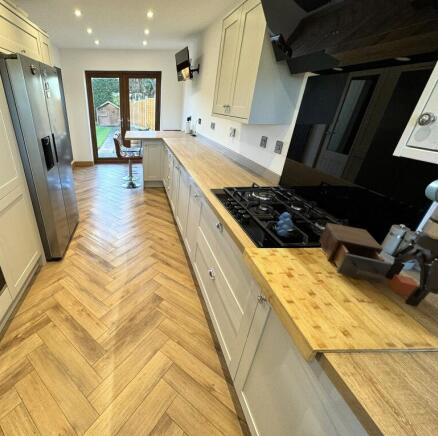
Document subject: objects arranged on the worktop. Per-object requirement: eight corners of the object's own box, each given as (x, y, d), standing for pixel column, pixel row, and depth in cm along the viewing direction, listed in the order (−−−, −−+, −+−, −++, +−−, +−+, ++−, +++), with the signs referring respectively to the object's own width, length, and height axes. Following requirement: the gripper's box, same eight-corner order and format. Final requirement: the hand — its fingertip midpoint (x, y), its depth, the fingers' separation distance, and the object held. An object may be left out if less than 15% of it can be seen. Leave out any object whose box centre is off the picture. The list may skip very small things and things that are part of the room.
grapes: (293, 243, 104) (302, 219, 98) (276, 240, 105) (285, 216, 100) (286, 231, 114) (295, 208, 109) (271, 228, 115) (279, 206, 110)
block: (404, 288, 81) (412, 277, 79) (412, 297, 77) (420, 286, 75) (388, 284, 82) (395, 274, 80) (394, 292, 78) (402, 282, 76)
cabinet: (370, 270, 89) (383, 248, 84) (327, 260, 93) (337, 239, 89) (355, 249, 102) (365, 229, 98) (318, 241, 106) (327, 222, 102)
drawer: (387, 293, 76) (400, 274, 73) (341, 281, 80) (351, 263, 77) (363, 260, 93) (373, 243, 89) (326, 252, 97) (334, 235, 94)
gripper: (490, 262, 58) (438, 322, 68) (428, 221, 79) (395, 271, 89) (450, 254, 61) (405, 313, 70) (400, 217, 81) (370, 266, 91)
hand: (399, 290), depth 79 cm, fingers open, 13 cm apart
